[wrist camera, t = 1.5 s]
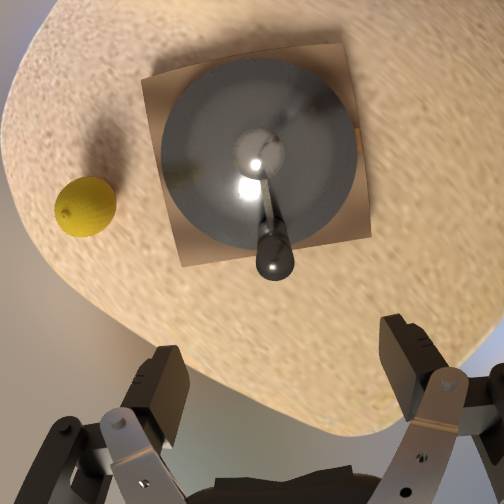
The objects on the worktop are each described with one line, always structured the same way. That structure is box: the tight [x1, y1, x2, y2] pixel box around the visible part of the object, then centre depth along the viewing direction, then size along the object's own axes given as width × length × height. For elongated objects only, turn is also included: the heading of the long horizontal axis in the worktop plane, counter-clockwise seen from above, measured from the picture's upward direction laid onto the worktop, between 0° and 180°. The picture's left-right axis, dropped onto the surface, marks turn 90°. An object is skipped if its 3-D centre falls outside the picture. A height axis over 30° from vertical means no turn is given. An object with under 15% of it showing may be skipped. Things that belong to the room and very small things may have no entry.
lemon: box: [55, 177, 116, 237], centre depth 27 cm, size 6×6×8 cm
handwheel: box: [161, 58, 358, 281], centre depth 22 cm, size 16×16×9 cm
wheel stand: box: [141, 43, 372, 267], centre depth 27 cm, size 18×18×3 cm
